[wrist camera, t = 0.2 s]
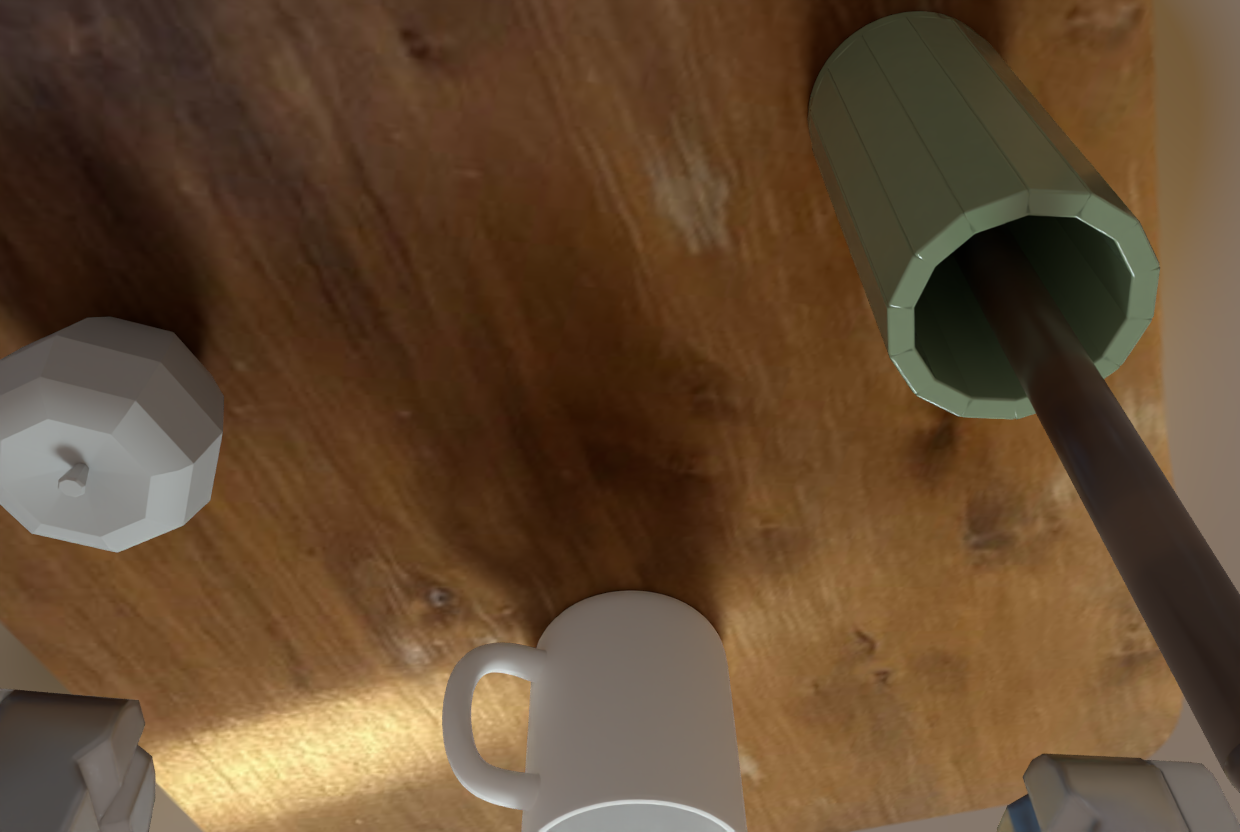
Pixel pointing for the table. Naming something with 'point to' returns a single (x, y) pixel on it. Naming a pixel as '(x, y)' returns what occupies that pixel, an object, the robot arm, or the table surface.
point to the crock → (967, 207)
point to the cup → (611, 722)
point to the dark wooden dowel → (1119, 488)
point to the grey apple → (107, 433)
